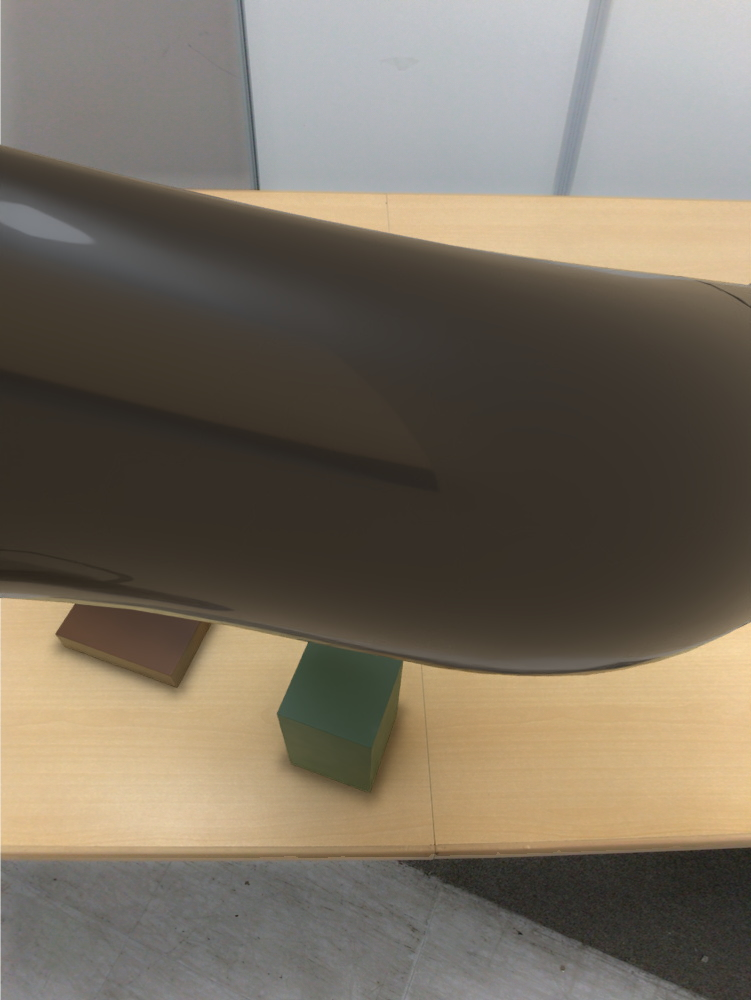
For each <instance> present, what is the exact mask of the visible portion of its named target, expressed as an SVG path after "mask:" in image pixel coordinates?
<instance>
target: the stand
mask: <svg viewBox="0 0 751 1000" xmlns="http://www.w3.org/2000/svg"><path fill="white" fill-rule="evenodd" d="M403 668H404V661H401V660H396V659H391V658H387V657H382V656H377V655H372V654H367V653H361V652H356V651H351V650H345V649H340V648H334V647H329V646H324V645H319V644H314V643H310V642H306V646H305V648H304V650H303V653H302V655H301V657H300V660H299V662H298V664H297V666H296V669H295V672H294V673H293V676H292V678H291V680H290V682H289V685H288V687H287V689H286V691H285V694H284V695H283V698H282V700H281V702H280V705H279V708H278V710H277V712H276V717H277V721H278V723H279V727H280V731H281V734H282V738H283V742H284V745H285V749H286V752H287V756H288V760H289V763H290V765H294V766H296V767H299V768H302V769H305V770H306V771H309V772H312V773H315V774H318V775H320V776H323V777H325V778H328V779H331V780H334V781H337V782H339V783H341V784H344V785H347V786H350V787H352V788H355V789H358V790H360V791H362V792H365V793H367V794H371V791H372V788H373V785H374V782H375V780H376V777H377V773H378V771H379V768H380V765H381V762H382V759H383V755H384V753H385V750H386V747H387V744H388V742H389V739H390V736H391V732H392V730H393V726H394V723H395V721H396V718H397V716H398V708H399V701H400V694H401V693H400V692H401V685H402V678H403V677H402V675H403Z"/></svg>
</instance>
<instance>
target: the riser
mask: <svg viewBox="0 0 751 1000" xmlns="http://www.w3.org/2000/svg"><path fill="white" fill-rule="evenodd" d="M211 625H212V623H209V622H203V621H197V620H191V619H185V618H180V617H174V616H168V615H162V614H156V613H150V612H144V611H138V610H132V609H123V608H113V607H103V606H93V605H83V604H74V603H73V606H72V607H71V609H70V610H69V612H68V613H67V615H66V616H65V618H64V620H63V622H61V624H60V626H59V627H58V629H57V630H56V632H55V636H56V638H57V639H58V640H59V641H60V643H62V645H63V646H64V647H65V648H68V649H71V650H74V651H77V652H79V653H82V654H84V655H87V656H90V657H93V658H96V659H98V660H101V661H104V662H107V663H109V664H112V665H115V666H117V667H120V668H122V669H126V670H127V671H128V670H129V671H130V672H134V673H136V674H138V675H142V676H145V677H148V678H150V679H154V680H156V681H159V682H161V683H163V684H167V685H169V686H172V687H175V688H178V687H179V686H180V684H181V681H182V680H183V677H184V676H185V673H186V671H187V670H188V669H189V666H190V664H191V662H192V661H193V658H194V657H195V655H196V653H197V651H198V650H199V649H198V648H199V647H200V645H201V643H202V641H203V639H204V638H205V636H206V634H207V632H208V630H209V629H210V626H211Z"/></svg>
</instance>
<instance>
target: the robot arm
mask: <svg viewBox="0 0 751 1000" xmlns="http://www.w3.org/2000/svg"><path fill="white" fill-rule="evenodd" d="M0 599H11V600H22V601H23V600H24V601H35V602H36V601H37V602H50V603H61V604H62V603H63V604H73V605H74V604H83V605H93V606H103V607H113V608H123V609H132V610H138V611H144V612H150V613H156V614H162V615H168V616H174V617H180V618H185V619H191V620H197V621H203V622H209V623H211V624H215V625H221V626H227V627H233V628H239V629H243V630H248V631H252V632H257V633H262V634H266V635H272V636H277V637H282V638H285V639H290V640H296V641H301V642H305V643H308V642H310V643H314V644H319V645H324V646H329V647H334V648H340V649H345V650H351V651H356V652H361V653H367V654H372V655H377V656H382V657H387V658H391V659H396V660H401V661H403V662H407V663H411V664H412V663H413V664H416V665H421V666H426V667H431V668H435V669H436V668H437V669H444V670H451V671H457V672H464V673H473V674H479V675H480V674H481V675H494V676H495V675H498V676H512V677H576V676H577V677H579V676H591V675H600V674H605V673H612V672H618V671H624V670H625V671H626V670H629V669H632V668H637V667H642V666H645V665H650V664H654V663H657V662H661V661H664V660H667V659H670V658H673V657H676V656H680V655H683V654H686V653H689V652H691V651H693V650H696V649H698V648H701V647H702V646H705V645H706V644H709V643H711V642H713V641H715V640H717V639H720V638H723V637H724V636H726V635H729V634H731V633H732V632H734V631H736V630H738V629H740V628H742V627H744V626H746V625H749V624H751V282H750V283H748V284H746V283H745V284H744V283H738V282H737V283H736V282H730V281H722V280H714V279H706V278H699V277H689V276H683V275H674V274H666V273H657V272H648V271H640V270H630V269H622V268H614V267H607V266H598V265H589V264H583V263H575V262H567V261H559V260H554V259H545V258H538V257H531V256H524V255H519V254H512V253H506V252H499V251H492V250H486V249H478V248H473V247H466V246H461V245H460V246H459V245H454V244H448V243H443V242H439V241H438V242H437V241H433V240H427V239H422V238H418V237H413V236H407V235H401V234H397V233H393V232H392V233H391V232H387V231H383V230H382V231H381V230H378V229H377V230H376V229H372V228H366V227H362V226H356V225H351V224H347V223H341V222H334V221H331V220H326V219H321V218H315V217H311V216H307V215H301V214H298V213H297V214H296V213H292V212H287V211H283V210H277V209H272V208H268V207H263V206H259V205H255V204H251V203H246V202H241V201H237V200H232V199H229V198H224V197H220V196H215V195H211V194H206V193H202V192H197V191H194V190H190V189H184V188H180V187H175V186H172V185H166V184H163V183H159V182H153V181H149V180H145V179H142V178H137V177H133V176H128V175H125V174H121V173H117V172H112V171H109V170H105V169H101V168H96V167H93V166H88V165H84V164H81V163H76V162H74V161H73V162H72V161H69V160H64V159H60V158H56V157H52V156H48V155H45V154H40V153H36V152H32V151H29V150H24V149H21V148H16V147H12V146H8V145H5V144H1V143H0Z"/></svg>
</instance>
